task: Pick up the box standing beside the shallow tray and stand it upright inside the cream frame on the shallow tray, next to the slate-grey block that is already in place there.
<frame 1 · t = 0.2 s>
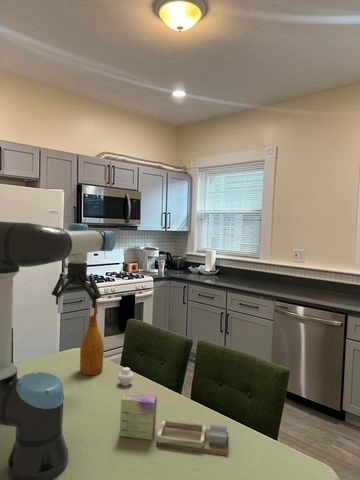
hand: (75, 314, 145), 28 cm above the table, tool pointing down, fingers open, 13 cm apart
wine bottle: (91, 372, 157), on the table
shallow tray: (193, 440, 110), on the table
white ribbed rounded piece: (125, 384, 147), on the table
box: (137, 433, 113), on the table
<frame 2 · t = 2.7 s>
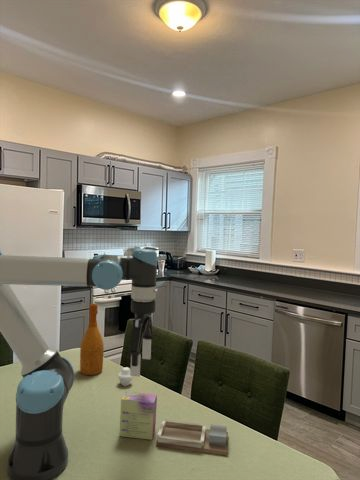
hand: (141, 366, 112), 21 cm above the table, tool pointing down, fingers open, 13 cm apart
nothing on the table moved.
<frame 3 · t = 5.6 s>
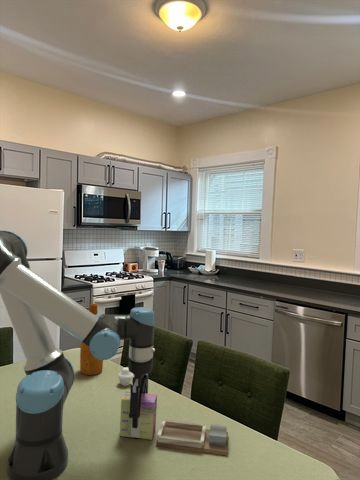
hand: (138, 430, 113), 1 cm above the table, tool pointing down, fingers closed on box, 6 cm apart
box: (138, 433, 113), on the table, touching gripper
everything else where it was.
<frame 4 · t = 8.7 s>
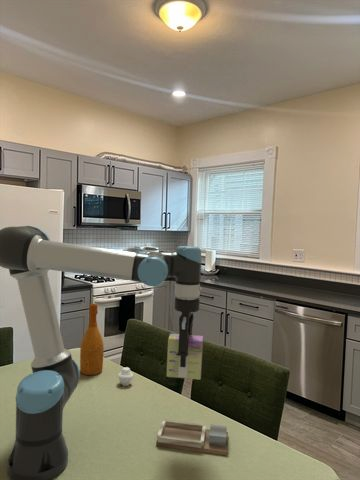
hand: (184, 372, 110), 21 cm above the table, tool pointing down, fingers closed on box, 6 cm apart
box: (184, 375, 110), point 20 cm above the table, touching gripper
everything else where it was.
when the fingers open (3 cm above the table, at t = 11.8 s): box drops 1 cm, resting on shallow tray.
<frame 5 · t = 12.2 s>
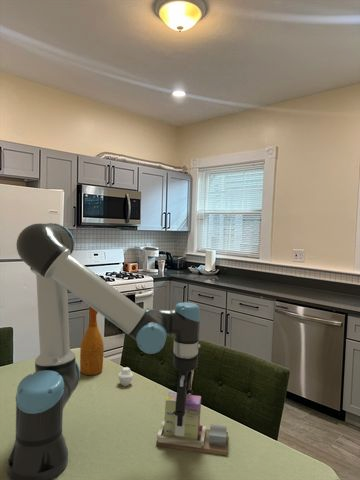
hand: (182, 423, 111), 5 cm above the table, tool pointing down, fingers open, 11 cm apart
box: (181, 435, 111), point 1 cm above the table, touching shallow tray
everything else where it was.
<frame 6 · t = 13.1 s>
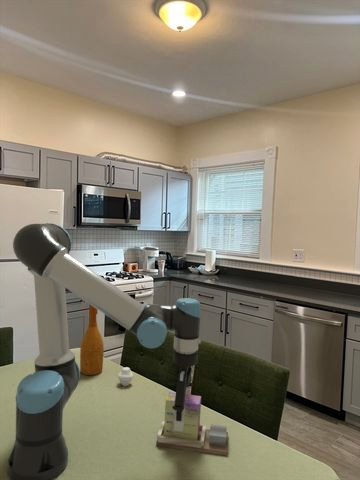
hand: (181, 417, 111), 7 cm above the table, tool pointing down, fingers open, 13 cm apart
nothing on the table moved.
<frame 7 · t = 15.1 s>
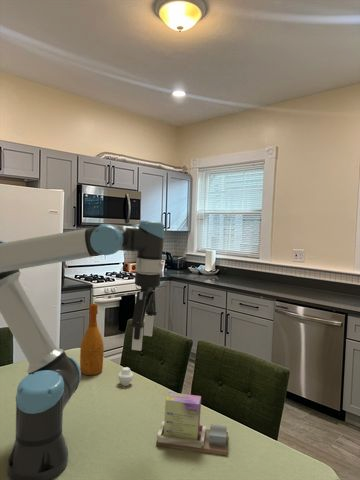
hand: (142, 342, 108), 30 cm above the table, tool pointing down, fingers open, 13 cm apart
nothing on the table moved.
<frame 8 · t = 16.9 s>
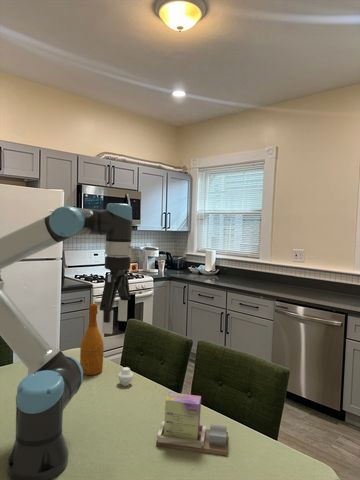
hand: (115, 326, 107), 35 cm above the table, tool pointing down, fingers open, 13 cm apart
nothing on the table moved.
at the end: box 0.1 cm from the target spot on the shallow tray, point 1.0 cm above the shallow tray's base; box tilted 0°; the gripper is holding nothing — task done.
